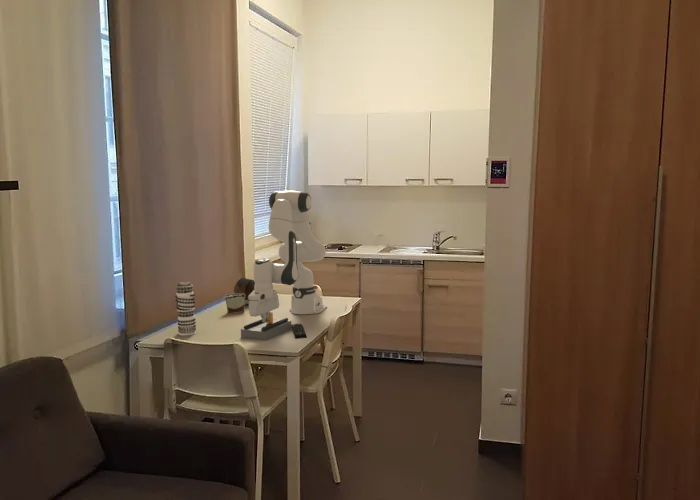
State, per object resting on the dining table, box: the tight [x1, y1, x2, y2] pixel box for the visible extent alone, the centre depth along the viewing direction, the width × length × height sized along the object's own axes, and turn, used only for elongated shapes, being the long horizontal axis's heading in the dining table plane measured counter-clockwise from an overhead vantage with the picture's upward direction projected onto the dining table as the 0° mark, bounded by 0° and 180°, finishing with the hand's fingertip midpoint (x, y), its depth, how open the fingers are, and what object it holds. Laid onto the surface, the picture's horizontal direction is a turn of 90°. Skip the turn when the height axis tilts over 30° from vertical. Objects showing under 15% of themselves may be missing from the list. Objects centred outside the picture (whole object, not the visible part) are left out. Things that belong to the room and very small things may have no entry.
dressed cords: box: [243, 317, 289, 331], centre depth 291 cm, size 22×12×2 cm, turn 153°
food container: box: [223, 292, 246, 315], centre depth 339 cm, size 12×6×10 cm, turn 123°
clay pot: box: [233, 277, 255, 305], centre depth 358 cm, size 15×15×25 cm
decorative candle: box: [174, 281, 197, 336], centre depth 294 cm, size 9×9×25 cm
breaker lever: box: [267, 311, 274, 324], centre depth 293 cm, size 2×2×5 cm
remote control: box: [291, 323, 307, 339], centre depth 293 cm, size 5×24×1 cm, turn 10°
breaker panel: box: [240, 318, 292, 341], centre depth 291 cm, size 22×14×4 cm, turn 153°
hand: (265, 321), depth 290 cm, fingers closed
